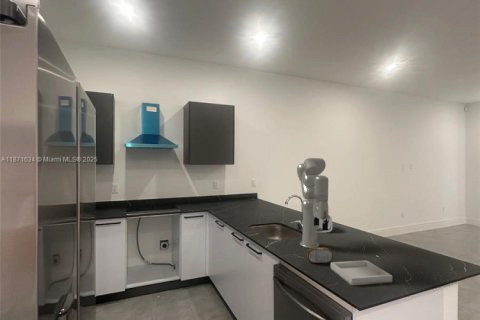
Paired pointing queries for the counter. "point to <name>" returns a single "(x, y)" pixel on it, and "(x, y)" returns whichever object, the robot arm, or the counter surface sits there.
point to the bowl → (328, 225)
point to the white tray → (360, 272)
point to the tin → (319, 255)
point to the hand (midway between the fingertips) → (320, 227)
